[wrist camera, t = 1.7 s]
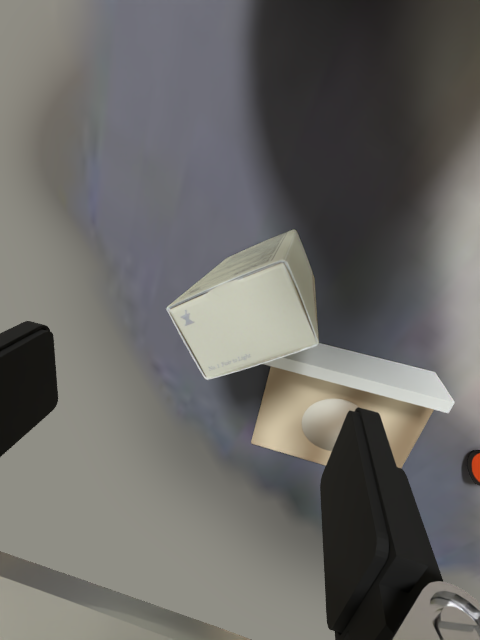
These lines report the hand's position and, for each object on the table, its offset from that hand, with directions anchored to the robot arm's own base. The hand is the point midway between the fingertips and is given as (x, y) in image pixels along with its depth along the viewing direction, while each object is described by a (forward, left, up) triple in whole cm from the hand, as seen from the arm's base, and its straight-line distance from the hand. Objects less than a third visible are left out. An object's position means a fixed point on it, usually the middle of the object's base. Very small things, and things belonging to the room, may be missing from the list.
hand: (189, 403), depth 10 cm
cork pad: (-9, +13, -18) cm, 24 cm away
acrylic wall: (-5, +6, -18) cm, 19 cm away
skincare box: (0, 0, -18) cm, 18 cm away
